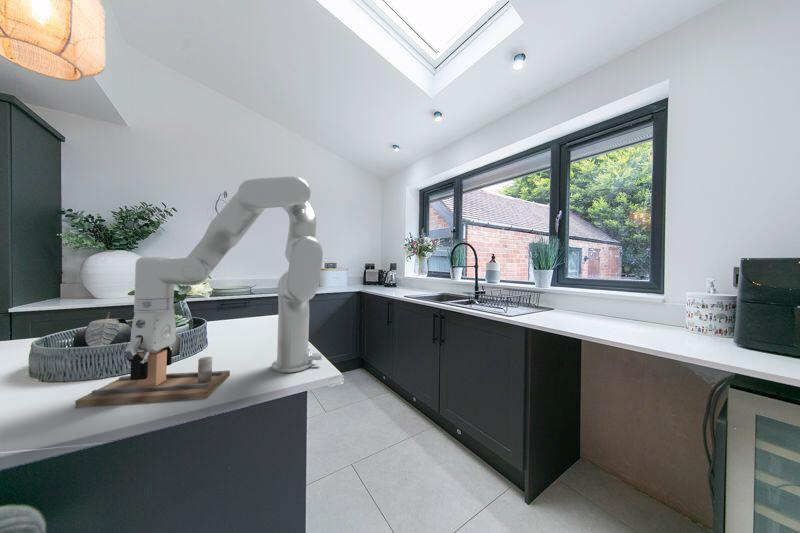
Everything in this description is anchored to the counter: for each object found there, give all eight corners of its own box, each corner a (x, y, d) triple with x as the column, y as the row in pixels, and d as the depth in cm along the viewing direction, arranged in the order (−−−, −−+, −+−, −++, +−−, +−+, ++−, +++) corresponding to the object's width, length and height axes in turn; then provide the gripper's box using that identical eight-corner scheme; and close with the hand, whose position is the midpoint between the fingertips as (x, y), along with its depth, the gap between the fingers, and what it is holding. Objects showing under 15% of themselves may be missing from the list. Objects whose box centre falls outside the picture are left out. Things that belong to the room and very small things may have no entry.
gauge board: (229, 375, 79) (230, 350, 79) (206, 398, 66) (207, 367, 66) (124, 381, 74) (125, 354, 74) (75, 407, 60) (76, 373, 60)
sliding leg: (166, 379, 72) (167, 347, 72) (155, 386, 68) (157, 352, 68) (148, 380, 71) (149, 347, 71) (137, 387, 67) (138, 352, 67)
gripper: (148, 310, 62) (145, 385, 61) (189, 300, 79) (187, 359, 78) (108, 310, 60) (106, 387, 60) (159, 300, 77) (157, 361, 77)
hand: (152, 371), depth 69 cm, fingers open, 9 cm apart
